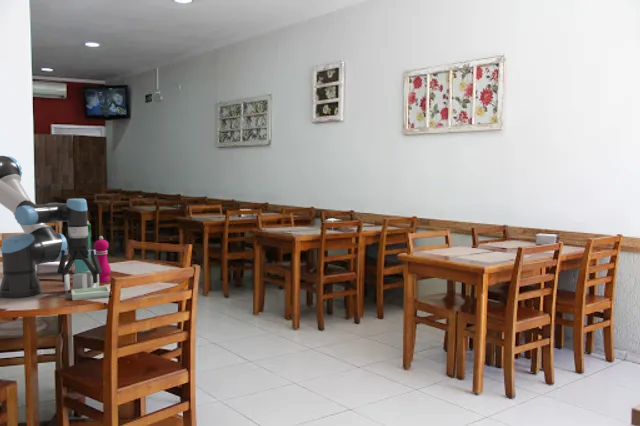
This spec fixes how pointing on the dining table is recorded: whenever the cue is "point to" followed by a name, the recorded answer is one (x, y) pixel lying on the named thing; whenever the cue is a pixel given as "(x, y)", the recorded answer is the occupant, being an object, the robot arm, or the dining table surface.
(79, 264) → the milk carton
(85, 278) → the stone
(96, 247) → the pepper mill
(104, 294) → the bin
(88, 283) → the stone
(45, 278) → the dining table surface
